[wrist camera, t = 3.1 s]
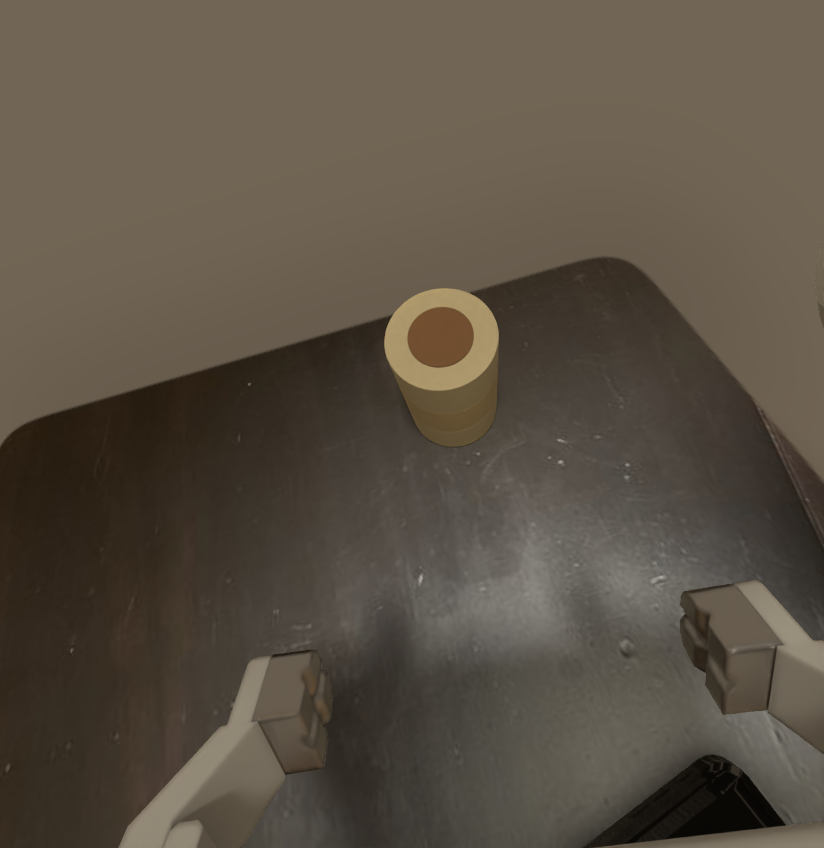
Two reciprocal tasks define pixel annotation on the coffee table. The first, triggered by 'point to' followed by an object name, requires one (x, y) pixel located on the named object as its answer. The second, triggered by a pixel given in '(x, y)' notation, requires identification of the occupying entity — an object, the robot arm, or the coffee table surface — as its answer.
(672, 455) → the coffee table surface
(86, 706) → the coffee table surface
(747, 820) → the phone
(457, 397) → the tape stack
